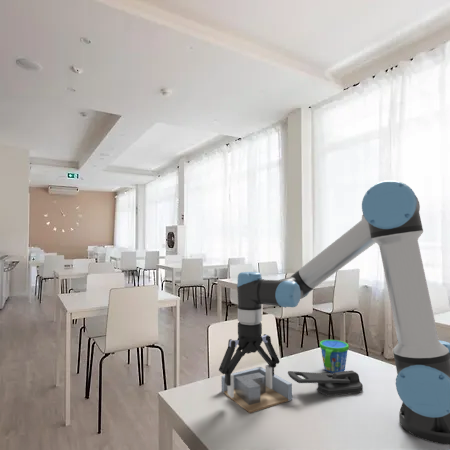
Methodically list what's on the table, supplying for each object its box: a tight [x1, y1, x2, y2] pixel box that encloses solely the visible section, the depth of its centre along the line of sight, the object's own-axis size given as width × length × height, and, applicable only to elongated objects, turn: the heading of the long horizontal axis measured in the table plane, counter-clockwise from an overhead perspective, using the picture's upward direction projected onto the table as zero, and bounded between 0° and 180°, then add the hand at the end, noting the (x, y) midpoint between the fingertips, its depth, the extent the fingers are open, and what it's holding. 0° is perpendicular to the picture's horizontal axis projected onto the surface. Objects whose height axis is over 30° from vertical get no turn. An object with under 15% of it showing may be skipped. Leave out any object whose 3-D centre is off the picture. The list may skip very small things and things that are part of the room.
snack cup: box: [319, 339, 350, 374], centre depth 130 cm, size 16×10×10 cm
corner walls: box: [221, 366, 293, 402], centre depth 109 cm, size 16×16×5 cm
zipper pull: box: [287, 370, 364, 397], centre depth 112 cm, size 9×7×25 cm
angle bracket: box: [235, 373, 266, 405], centre depth 108 cm, size 9×9×5 cm
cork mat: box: [223, 386, 289, 414], centre depth 108 cm, size 15×14×1 cm
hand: (250, 391), depth 105 cm, fingers open, 13 cm apart
